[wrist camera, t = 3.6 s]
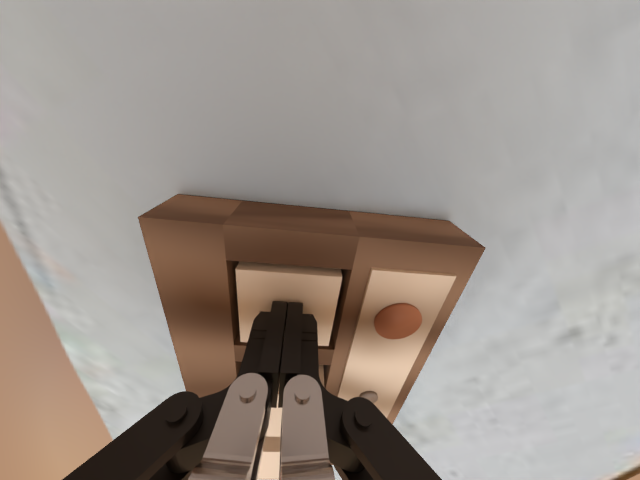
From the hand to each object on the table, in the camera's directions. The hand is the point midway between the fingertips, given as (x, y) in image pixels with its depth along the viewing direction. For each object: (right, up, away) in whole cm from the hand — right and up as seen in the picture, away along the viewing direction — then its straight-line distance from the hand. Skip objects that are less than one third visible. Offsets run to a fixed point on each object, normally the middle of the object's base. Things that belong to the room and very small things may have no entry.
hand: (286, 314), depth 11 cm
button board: (0, -5, +6) cm, 8 cm away
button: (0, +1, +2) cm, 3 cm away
